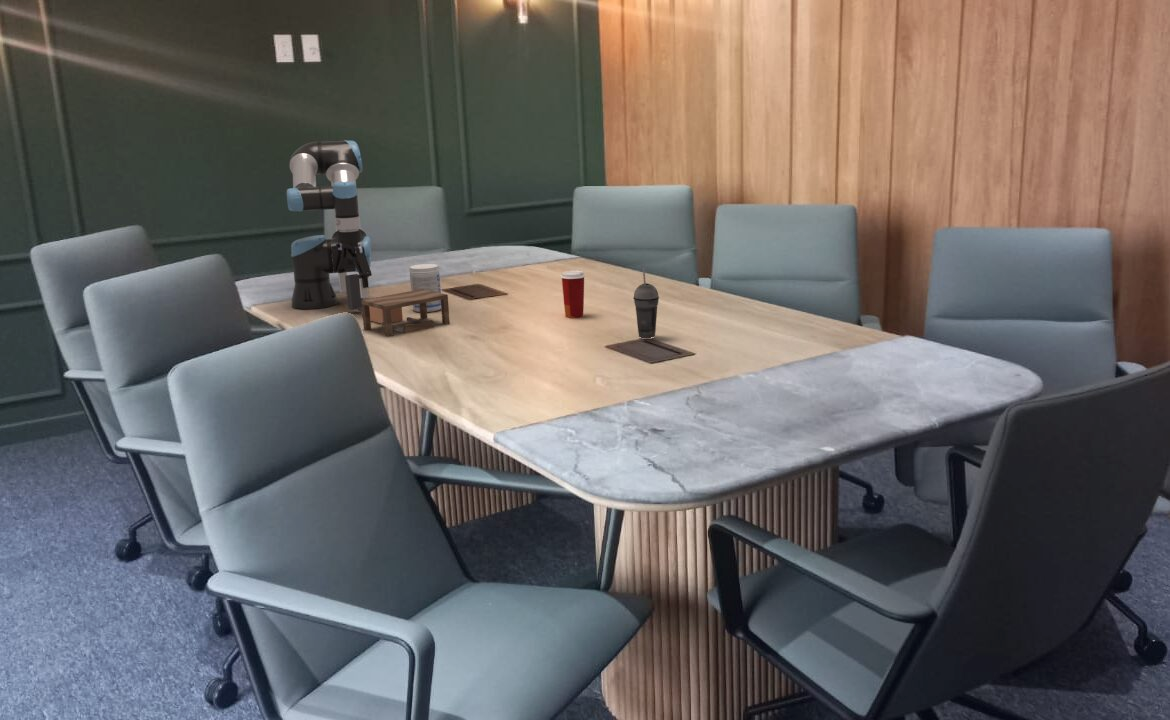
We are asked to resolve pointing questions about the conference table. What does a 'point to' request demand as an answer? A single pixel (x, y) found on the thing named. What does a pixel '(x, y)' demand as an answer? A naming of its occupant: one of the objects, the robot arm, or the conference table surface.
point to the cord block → (355, 299)
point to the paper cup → (573, 293)
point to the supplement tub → (426, 283)
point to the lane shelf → (402, 301)
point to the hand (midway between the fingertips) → (354, 294)
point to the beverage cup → (646, 308)
